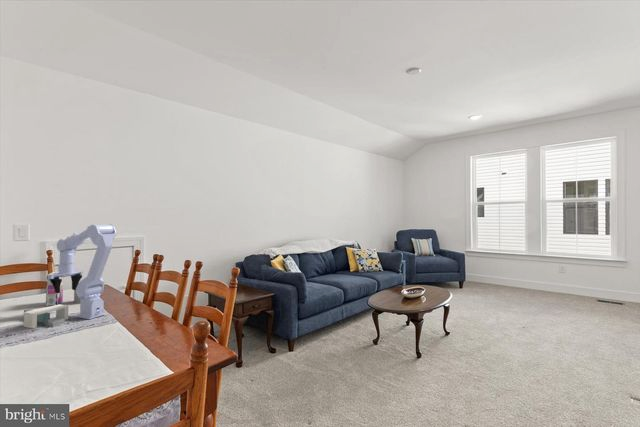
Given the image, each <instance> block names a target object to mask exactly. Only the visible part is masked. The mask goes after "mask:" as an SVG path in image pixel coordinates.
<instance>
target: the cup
mask: <svg viewBox="0 0 640 427" xmlns="http://www.w3.org/2000/svg"><path fill="white" fill-rule="evenodd" d="M79 284H80V282H79V283H78V285H79ZM73 291H74V292H73V303H74V304H76V305H79V304H80V300H81V298H79V297H78V296H77V294H76V290H73Z"/></svg>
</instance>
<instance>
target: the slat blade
mask: <svg viewBox="0 0 640 427" xmlns="http://www.w3.org/2000/svg"><path fill="white" fill-rule="evenodd" d="M32 310H33V309H30V308H29V309H27V308H26V309H24V310H23V313H24V312H27V311H32ZM48 319H51V312H47V313H43V314H39V315H37V323H42V324H45V320H48Z"/></svg>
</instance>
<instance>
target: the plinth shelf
mask: <svg viewBox="0 0 640 427" xmlns="http://www.w3.org/2000/svg"><path fill="white" fill-rule="evenodd" d="M31 310H32V311H27V312H24V311H23V327H25V328H29V329H34V328H35V329H36V328H37V327H38V326H37V325H38V321H37V315H39V314H43V313H51V312H55V318H56V317H59V318H65V321H66V320H69V305H66V304H60V303H59V304H58V305H54V306H45V307H42V308H36V309H31Z"/></svg>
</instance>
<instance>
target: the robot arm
mask: <svg viewBox="0 0 640 427" xmlns="http://www.w3.org/2000/svg"><path fill="white" fill-rule="evenodd" d="M116 235H117V231H116V228H115V226H114V224H111V223H109V224H91V225H89V226H88V225H87V228H86V229H85V230H83V231H82V232H74V233H72V235H70V236H67V238H65V239H63V238H60V239H59V240H58V241H57V242H56V249H57V250H58V251H59V260H58V261H59V262H58V263H59V267H58V272H59V273H55V274H50V273H49V274H50V275H49V279H50V281H51V283H52V284H53V286H54V289H55V293H60V285H61V281H62V279H60V277H63V278H65V277H70V278H71V290H73V291H74V290H76V294H77V296H78V297H79V298H81V300H80V305H79V306H80V309H79V314H76V315H75V317H76V318H80V319H86V320H91V319H95V318H98V317H102V316H105V315H106V313H105V309H104V308H105V306H104V305H105V302H104V300H103V298H101V294H102V293H103V292H104V289H105V288H104V287H105V281H104V279H103V278H102V275H103V273H104V270H105V267H106V265H107V262H108V258H109V257H110V253H111V250H112V248H113V244H114V241H115V238H116ZM87 239H90V240H91V242H92V243H93V245H94V246H96V247H97V248H96V250H95V253H94V255H93V258H92V262H91V265H90V268H89V271H88V273H87V275H86V276H85V277H84V278H83V274H84V273H83V272H84V271H83V270H81V269H80V270H79V269H78V270H75V254H76V251H77V248H78V247H79V246H81V245H83V244H84V243H85V242H86V240H87ZM82 278H83V279H82ZM78 283H80V284H79V285H78Z"/></svg>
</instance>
